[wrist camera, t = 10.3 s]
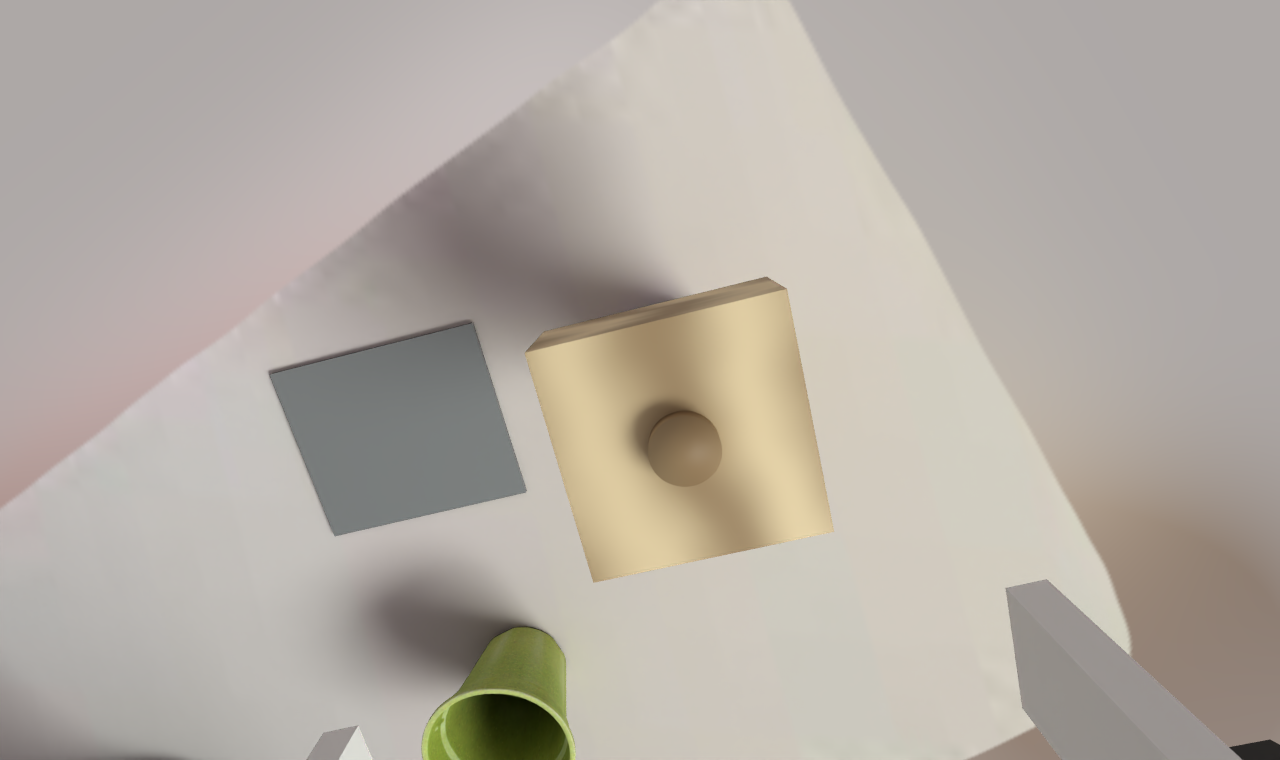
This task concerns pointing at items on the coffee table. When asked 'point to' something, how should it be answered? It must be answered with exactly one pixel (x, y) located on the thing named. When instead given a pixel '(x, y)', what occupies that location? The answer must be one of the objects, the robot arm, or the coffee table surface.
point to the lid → (683, 429)
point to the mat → (401, 430)
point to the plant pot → (506, 705)
